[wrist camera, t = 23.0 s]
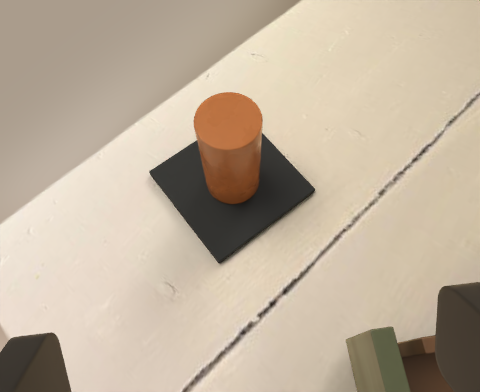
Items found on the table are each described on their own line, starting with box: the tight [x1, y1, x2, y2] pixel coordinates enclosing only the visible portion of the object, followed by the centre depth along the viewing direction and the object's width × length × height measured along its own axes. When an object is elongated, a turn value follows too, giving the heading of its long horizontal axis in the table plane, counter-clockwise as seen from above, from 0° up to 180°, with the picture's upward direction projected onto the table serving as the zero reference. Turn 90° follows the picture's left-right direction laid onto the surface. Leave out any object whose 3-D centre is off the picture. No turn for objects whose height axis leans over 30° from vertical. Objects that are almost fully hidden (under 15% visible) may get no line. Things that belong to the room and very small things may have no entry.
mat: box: [150, 133, 315, 263], centre depth 32 cm, size 9×9×1 cm
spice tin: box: [194, 92, 263, 204], centre depth 28 cm, size 4×4×8 cm
